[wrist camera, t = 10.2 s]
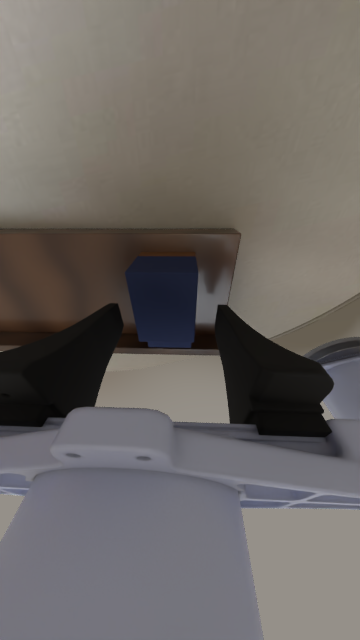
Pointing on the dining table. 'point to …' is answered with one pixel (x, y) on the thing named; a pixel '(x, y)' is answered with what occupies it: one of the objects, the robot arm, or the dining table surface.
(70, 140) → the dining table surface
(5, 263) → the shelf
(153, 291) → the navy block wooden base
